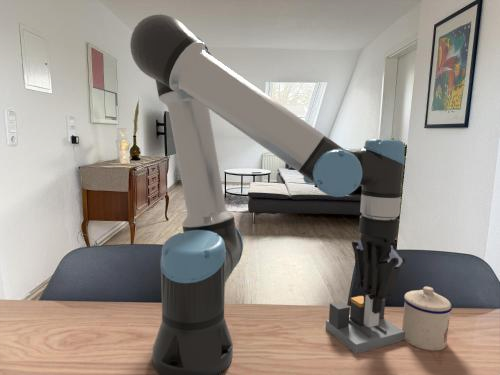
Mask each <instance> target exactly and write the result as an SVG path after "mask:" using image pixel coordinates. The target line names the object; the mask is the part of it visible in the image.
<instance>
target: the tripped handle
mask: <svg viewBox="0 0 500 375" xmlns="http://www.w3.org/2000/svg"><path fill="white" fill-rule="evenodd" d="M364 312H365V307H364V295H357V296H353V297H350V313H349V315H350V319H351V320H352V321H353V322H355V323H356V324H358V325H359V326H363V325H364Z"/></svg>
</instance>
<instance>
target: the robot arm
mask: <svg viewBox="0 0 500 375" xmlns="http://www.w3.org/2000/svg"><path fill="white" fill-rule="evenodd" d="M129 44H130V47H129V48H130V53H131V56H132V60H133V61H134V63H135V65H136V66H137V67H138V69H139V70H140V71H141V72H142V74H145V75H146V76H147V77H149V78H151V79H153V80H154V81H155V84H156V90H157V95H158V99H159V101H160V102H162V104H164V105H165V106H166V107H167V109H168V110H167V111H168V115H169V120H170V125H171V131H172V136H173V137H172V138H173V142H174V148H175V153H176V158H177V165H178V169H179V174H180V180H181V187H182V191H183V198H184V202H185V209H186V213H187V215H186V216H185V219H184V220H183V222H182V223H181V225H182V232H183V233H182V232H178V233H176V234H173V235H171V236H170V237H169V238H168V239H166V240H165V242H164V243H163V245H162V248H161V256H160V257H161V258H160V260H159V262H160V263H159V264H160V265H159V266H160V274H161V275H160V278H161V284H160V285H161V323H160V326H159V328H158V332H157V335H156V338H155V341H154V344H153V347H152V364H153V368H154V369H155V370H156V372H157V373H158V374H159V375H220V374H221V373H223V372H224V371H225V370H227V368H228V367H229V366H230V364H231V362H232V359H233V356H234V355H233V354H234V352H233V351H234V345H233V340H232V337H231V333H230V330H229V328H228V325H227V322H226V319H225V289H226V282H227V281H228V280H229V279H228V278H229V277H230V276H231V274H232V273H233V271H234V270H235V268H236V267H237V265H238V264H239V263H240V261H241V258H242V255H243V252H244V250H243V249H244V240H243V237H242V234H241V232H240V230H239V229H238V227H237V226H236V221H235V215H234V213H233V212H231V211H230V210H229V209H227V208H226V202H225V197H224V196H225V195H224V190H223V185H222V178H221V174H220V166H219V161H218V156H217V148H216V144H215V139H214V138H215V137H214V133H213V132H214V131H213V126H212V120H211V119H212V118H211V114H210V110H211V111H212V112H213V113H214V114H216V115H217V116H219V117H220V118H222V119H223V120H224V121H226V122H227V123H229V124H230V125H231V126H233V127H234V128H235V129H236V130H239V131H240V132H241V133H243V134H244V135H246V136H247V137H249V138H250V139H251V140H253V142H256V143H257V144H258V145H260V147H263V148H264V149H266V150H267V151H268V152H270V153H271V154H273V155H274V156H275V157H277V158H279V160H281V161H283V162H284V163H286V164H287V165H288V166H289V167H291V168H292V169H294V170H296V171H297V172H298V173H299V174H301V176H303V181H304V182H305V183H306V184H310V185H315V186H316V187H317V189H318V190H319V191H320V192H321V193H322V192H323V193H324V194H325V195H327V196H329V197H334V198H342V197H346V196H348V195H350V194H352V193H353V192H354V191H356V190H357V189H358V188H359V187H360V186H361V196H360V210H359V212H360V213H361V215H360V216H359V223H358V224H359V226H358V231H359V234H361V235H360V238H359V240H355V241H352V242H351V247H352V249H353V253H354V262H355V275H356V285H357V287H358V288H361V289H362V291H363V292H362V293H363V297H364V307H365V312H364V325H366V326H367V327H372V326H377V325H379V313H381V311H382V300H383V299H385V300H386V299H391V298H392V295H393V292H394V290H395V287H396V283H397V280H398V277H399V274H400V271H401V268H402V267H403V266H404V264H405V263H406V257H404V256H400V255H399V253H398V252H397V247H396V242H395V240H396V238H397V237H398V235H399V227H400V226H399V225H400V219H398V217H399V216H400V212H401V203H402V202H401V201H402V190H403V189H402V185H403V178H404V170H405V166H406V165H405V143H404V142H403V141H402V140H400V139H373V138H372V139H371V138H369V139H367V140H365V143H364V146H363V148H345V147H344V148H343V147H342V146H340V145H339V144H337V143H336V142H334V140H332V139H330V138H328V137H327V136H326V135H324V133H322V132H320V131H319V130H317V129H316V128H315V127H313V126H312V125H311V124H309V123H307V122H306V121H304V120H303V119H302V118H301V117H299V116H297V115H296V114H295V113H294V112H292V111H290V110H289V109H287V108H286V107H284V106H283V105H282V104H280V103H279V102H278V101H277V100H274V99H273V98H272V97H271V96H269V95H268V94H266V93H265V92H264V91H262V90H260V89H259V88H257V87H256V86H255V85H253V84H251V83H250V82H249V81H247V80H246V79H244V78H243V77H242V76H241V75H239V74H237V73H236V72H235V71H233V70H231V68H229V67H227V66H226V65H224V64H223V63H222V62H221V61H219V60H217V59H216V58H214V57H213V56H212V54H211V52H210V50H209V47H207V46H206V44H205V42H203V40H202V39H201V38H200V37H198V36H196V34H194V33H193V32H191V30H190V29H188V28H187V27H186V26H185V25H184V24H183V23H182V22H181V21H179V20H178V19H176V18H174V17H172V16H171V15H167V14H152V15H149V16H146V17H144V18H143V19H142V20H140V21H139V22H138V23H137V25H136V26H135V28H134V29H133V31H132V33H131V37H130V43H129Z"/></svg>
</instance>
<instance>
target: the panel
mask: <svg viewBox="0 0 500 375" xmlns="http://www.w3.org/2000/svg"><path fill="white" fill-rule="evenodd" d="M385 306H386V299H383V300H382V311H381V313H379V325H377V326H372V327H367V326H366V325H363V326H359V325H358V324H356V323H355V322H353V321H352V320H351V319H350V309H351V306H350V305H348V304H346V303H344V302H343V301H342V300H338V301H334V302H330V303H329V314H328V319H325V329H326V330H327V331H328V332H329V333H330V334H332V335H333V336H334V337H335V338H336V339H337V340H339V341H340V342H341V343H342V344H344V346H346V347H347V348H348V349H349V350H350V351H352V353H354V354H355V355H356V354H360V353H364V352H367V351H372V350H374V349H378V348H382V347H385V346H389V345H393V344H397V343H398V342H399V343H401V342H403V341H405V339H404V336H405V331H403V330H402V328H401V327H398V326H397V325H395V324H394V323H392V322H391V321H389V320H387V319H385V309H386V308H385Z"/></svg>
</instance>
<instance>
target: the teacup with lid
mask: <svg viewBox="0 0 500 375" xmlns="http://www.w3.org/2000/svg"><path fill="white" fill-rule="evenodd" d="M403 301H404V303H403V304H404V306H403V314H402V315H403V316H402V326H401V327H402V328H401V329H402V330H403V331H405V336H404V341H406V342H407V343H408V344H410V345H412V346H414V347H416V348H418V349H422V350H424V351H425V350H426V351H432V352H434V351H441V350H444V349H445V348H446V347H447V342H448V335H449V334H448V333H449V324H450V315H451V311H452V310H453V307H452V304H451V302H450V301H449V299H447V298H446V297H445V296H442V295H440V294H438V293H436V292H435V290H434V288H433V287H431V286H424V287H423V288H422V289H419V290H418V289H417V290H410V291H407V292H406V293H405V294H404V296H403Z"/></svg>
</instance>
